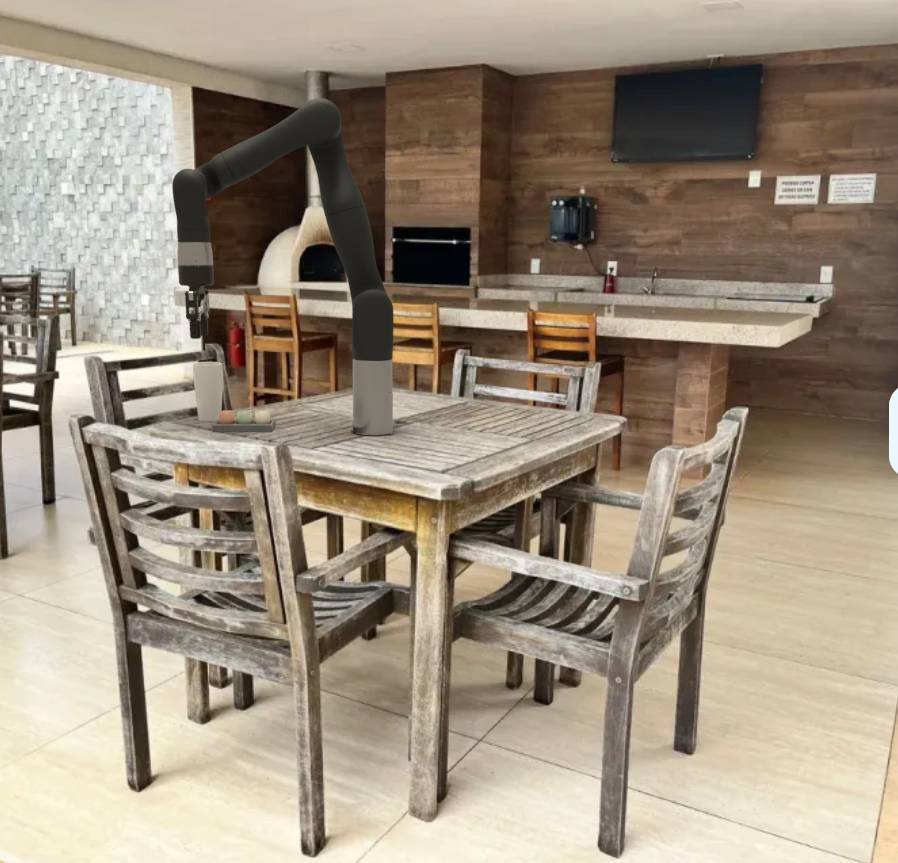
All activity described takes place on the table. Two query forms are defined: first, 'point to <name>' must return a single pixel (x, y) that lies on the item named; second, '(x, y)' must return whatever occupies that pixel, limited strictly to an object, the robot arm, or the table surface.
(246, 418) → the button sage
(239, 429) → the dark grey tray
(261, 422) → the button cream
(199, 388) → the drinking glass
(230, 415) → the button terracotta
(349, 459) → the table surface
